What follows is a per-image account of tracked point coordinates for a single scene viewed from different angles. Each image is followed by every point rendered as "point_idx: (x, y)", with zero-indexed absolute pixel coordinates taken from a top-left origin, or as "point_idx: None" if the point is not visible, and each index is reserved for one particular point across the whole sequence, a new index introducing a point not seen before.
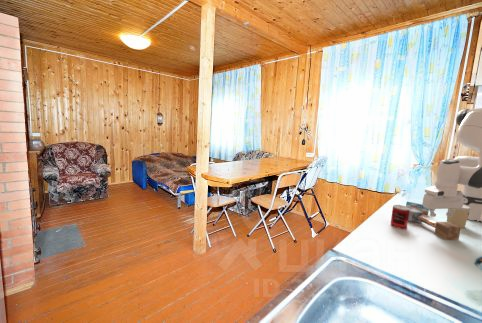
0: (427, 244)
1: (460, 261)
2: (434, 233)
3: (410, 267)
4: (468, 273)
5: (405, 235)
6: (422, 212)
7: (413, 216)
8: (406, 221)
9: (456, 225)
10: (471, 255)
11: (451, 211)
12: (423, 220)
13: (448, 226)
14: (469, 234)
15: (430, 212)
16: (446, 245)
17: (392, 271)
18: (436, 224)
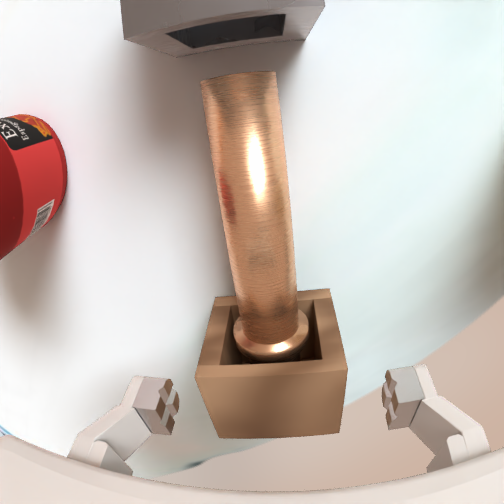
0: (97, 385)
1: (154, 454)
2: (214, 301)
3: (29, 432)
4: (138, 472)
5: (31, 310)
6: (305, 7)
7: (165, 43)
8: (14, 247)
9: (328, 421)
10: (229, 446)
11: (427, 438)
12: (213, 160)
13: (229, 435)
14: (492, 275)
15: (117, 409)
16: (182, 400)
17: (5, 426)
18: (201, 360)
